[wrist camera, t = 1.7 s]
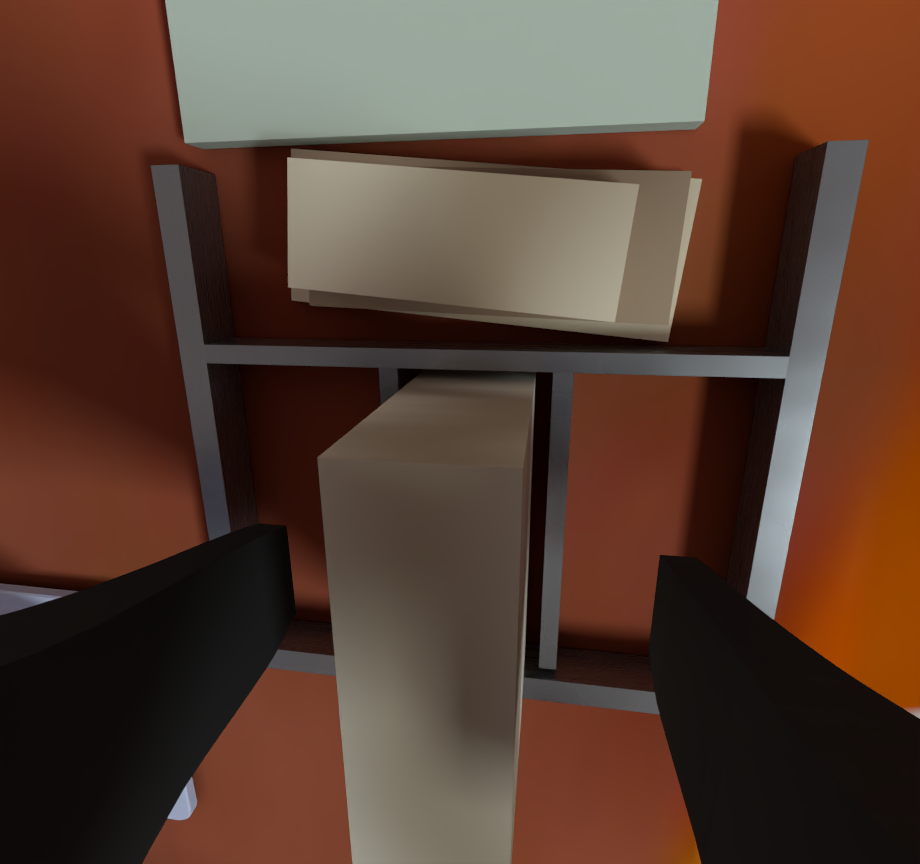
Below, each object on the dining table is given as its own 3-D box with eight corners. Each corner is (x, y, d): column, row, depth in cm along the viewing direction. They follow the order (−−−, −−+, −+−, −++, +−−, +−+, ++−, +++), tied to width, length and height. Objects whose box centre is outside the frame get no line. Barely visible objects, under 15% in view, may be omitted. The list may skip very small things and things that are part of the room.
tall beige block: (431, 629, 14) (352, 869, 9) (425, 368, 12) (317, 457, 7) (526, 639, 14) (508, 895, 8) (536, 372, 12) (523, 468, 6)
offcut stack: (307, 298, 13) (253, 304, 10) (307, 156, 12) (248, 128, 9) (660, 337, 12) (687, 353, 9) (691, 185, 11) (729, 163, 8)
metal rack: (252, 633, 15) (228, 662, 14) (189, 175, 12) (150, 165, 11) (735, 686, 13) (752, 725, 12) (831, 154, 10) (868, 139, 9)
